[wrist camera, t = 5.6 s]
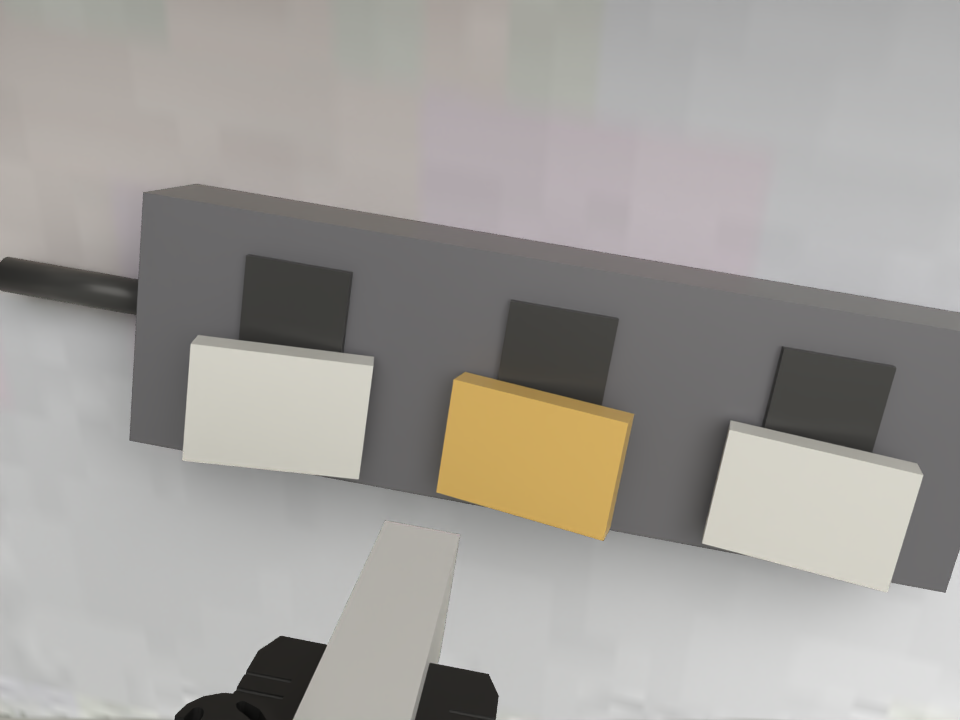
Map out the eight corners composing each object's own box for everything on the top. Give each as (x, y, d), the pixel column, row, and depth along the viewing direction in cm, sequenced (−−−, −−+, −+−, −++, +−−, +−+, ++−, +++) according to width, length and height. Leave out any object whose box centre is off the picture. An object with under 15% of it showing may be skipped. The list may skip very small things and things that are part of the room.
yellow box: (447, 481, 28) (436, 492, 27) (465, 371, 27) (453, 379, 26) (610, 527, 27) (603, 540, 26) (634, 414, 26) (628, 423, 25)
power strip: (24, 374, 33) (-53, 410, 29) (29, 155, 31) (-54, 160, 27) (900, 535, 32) (949, 597, 28) (968, 314, 30) (1032, 344, 25)
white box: (189, 448, 28) (182, 460, 27) (198, 334, 27) (190, 343, 26) (360, 466, 28) (358, 479, 27) (374, 357, 27) (373, 366, 26)
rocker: (704, 530, 28) (701, 543, 27) (730, 420, 27) (729, 429, 26) (882, 577, 27) (887, 592, 26) (917, 463, 26) (923, 474, 25)
